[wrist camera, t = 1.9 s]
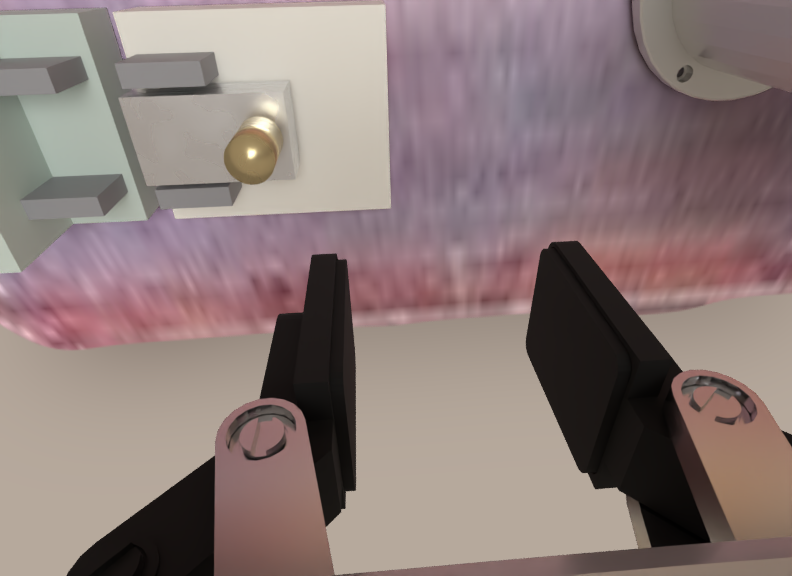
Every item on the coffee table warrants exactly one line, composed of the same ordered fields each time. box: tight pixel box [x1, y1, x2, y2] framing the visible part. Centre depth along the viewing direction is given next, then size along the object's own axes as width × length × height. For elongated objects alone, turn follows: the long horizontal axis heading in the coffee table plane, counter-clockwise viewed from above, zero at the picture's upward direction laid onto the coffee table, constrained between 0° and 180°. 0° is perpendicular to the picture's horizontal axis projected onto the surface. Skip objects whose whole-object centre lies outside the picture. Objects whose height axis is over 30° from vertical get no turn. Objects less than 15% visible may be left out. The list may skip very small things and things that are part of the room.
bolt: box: [118, 80, 300, 186], centre depth 22 cm, size 7×4×6 cm, turn 91°
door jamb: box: [0, 8, 159, 273], centre depth 23 cm, size 5×10×8 cm, turn 1°
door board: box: [113, 0, 391, 219], centre depth 25 cm, size 12×10×6 cm
